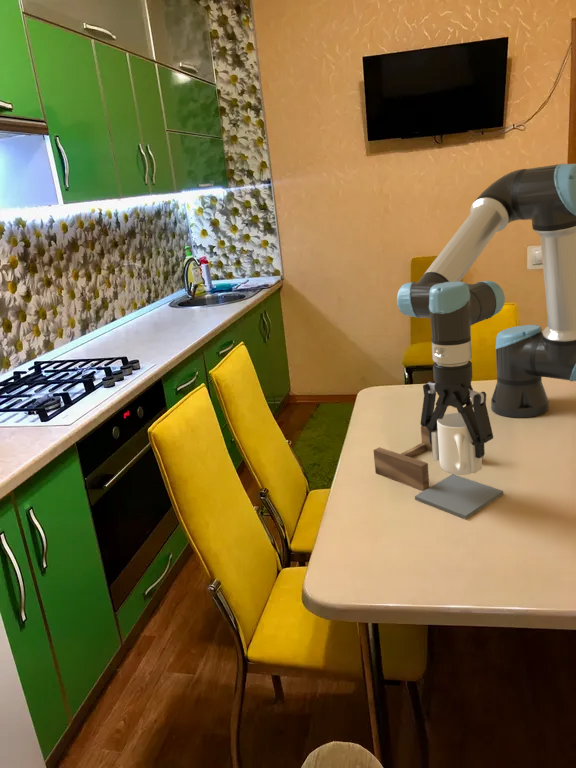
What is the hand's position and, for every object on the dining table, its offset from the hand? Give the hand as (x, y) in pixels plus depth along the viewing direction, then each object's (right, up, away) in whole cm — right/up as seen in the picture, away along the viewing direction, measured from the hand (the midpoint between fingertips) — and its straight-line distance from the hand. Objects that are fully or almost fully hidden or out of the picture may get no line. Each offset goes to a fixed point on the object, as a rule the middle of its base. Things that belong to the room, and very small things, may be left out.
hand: (456, 464), depth 129 cm
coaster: (+1, -7, +2) cm, 8 cm away
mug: (+1, -1, 0) cm, 2 cm away
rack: (-3, -3, +18) cm, 18 cm away
